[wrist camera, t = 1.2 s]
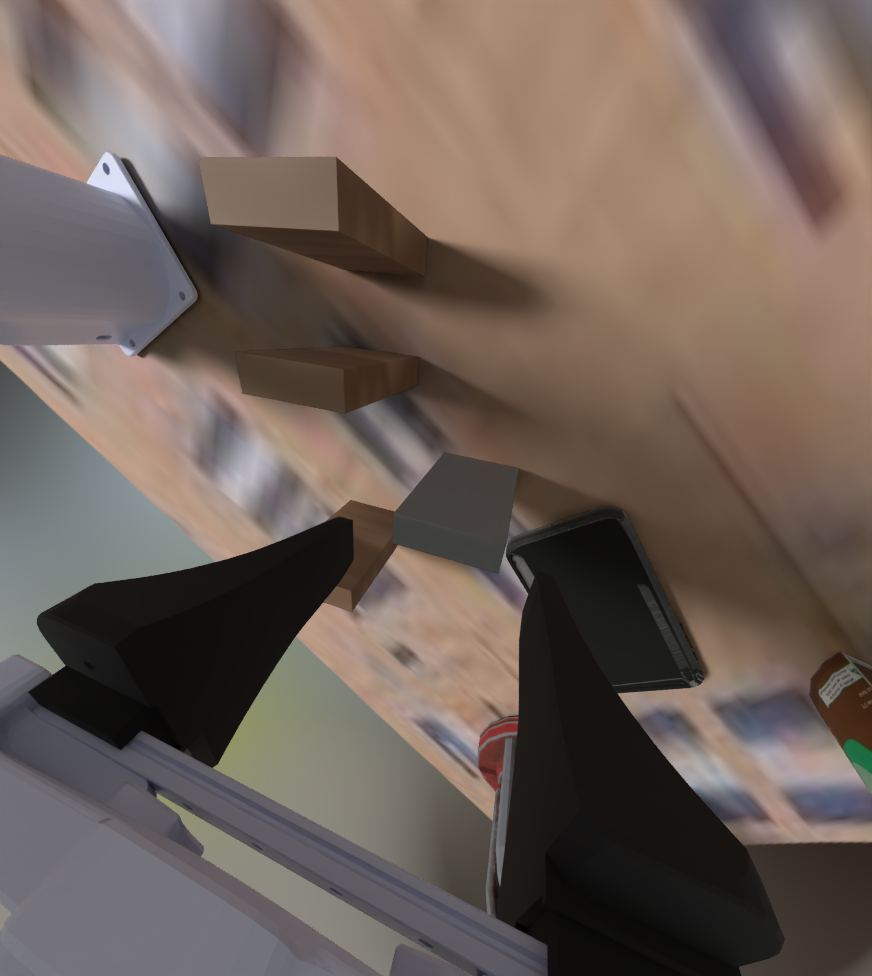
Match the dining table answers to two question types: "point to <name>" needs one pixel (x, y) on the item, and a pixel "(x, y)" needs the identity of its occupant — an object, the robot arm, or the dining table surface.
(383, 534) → the domino
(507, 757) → the hourglass
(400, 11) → the dining table surface
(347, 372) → the domino
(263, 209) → the domino
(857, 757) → the food container
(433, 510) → the domino
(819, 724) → the dining table surface
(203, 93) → the dining table surface
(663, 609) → the phone
